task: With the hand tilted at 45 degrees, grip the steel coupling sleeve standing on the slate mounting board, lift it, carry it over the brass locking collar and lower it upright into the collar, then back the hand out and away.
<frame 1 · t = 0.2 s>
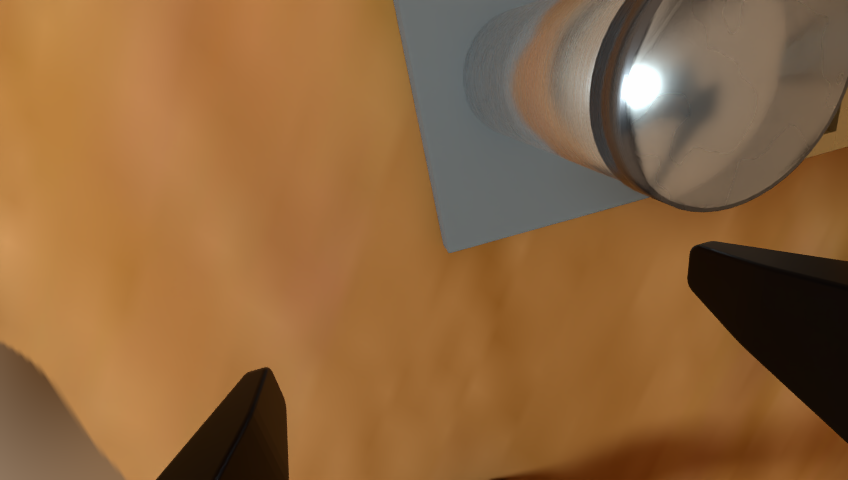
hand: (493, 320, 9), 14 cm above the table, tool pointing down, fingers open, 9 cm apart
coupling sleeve: (520, 74, 20), point 1 cm above the table, touching mounting board
locking collar: (706, 67, 23), resting on mounting board
mounting board: (612, 70, 22), on the table
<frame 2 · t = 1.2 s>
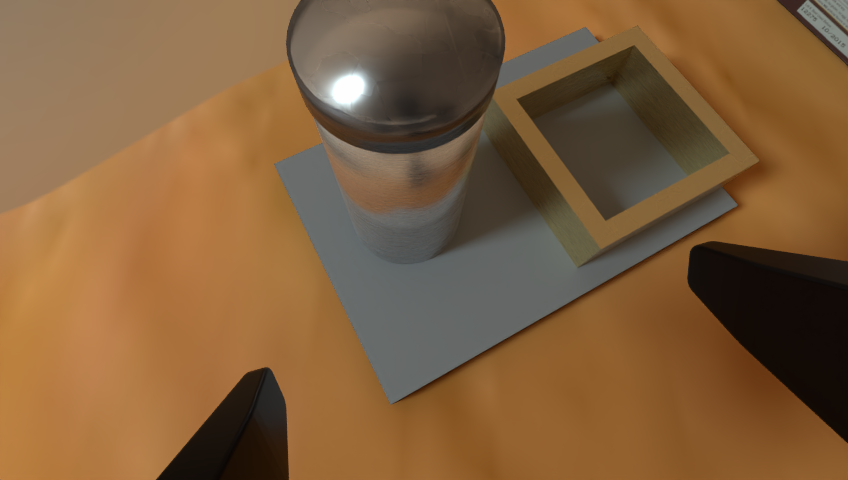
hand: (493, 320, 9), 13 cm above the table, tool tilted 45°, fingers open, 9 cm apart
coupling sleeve: (406, 213, 23), point 1 cm above the table, touching mounting board
locking collar: (589, 167, 25), resting on mounting board
mounting board: (500, 194, 25), on the table
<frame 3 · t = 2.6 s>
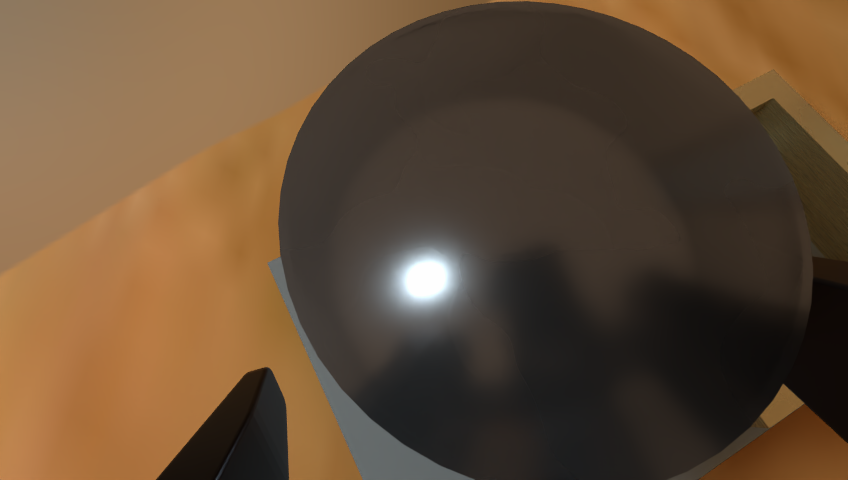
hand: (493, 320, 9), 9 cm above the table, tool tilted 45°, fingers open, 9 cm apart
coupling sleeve: (454, 337, 16), point 1 cm above the table, touching mounting board
locking collar: (696, 259, 19), resting on mounting board
mounting board: (578, 298, 18), on the table
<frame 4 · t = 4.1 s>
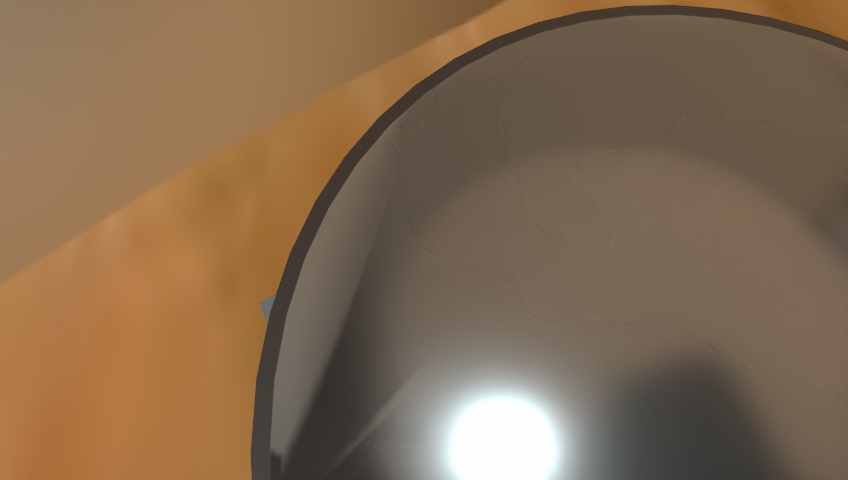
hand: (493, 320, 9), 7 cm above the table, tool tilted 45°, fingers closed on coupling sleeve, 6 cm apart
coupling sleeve: (477, 392, 14), point 1 cm above the table, touching gripper, mounting board
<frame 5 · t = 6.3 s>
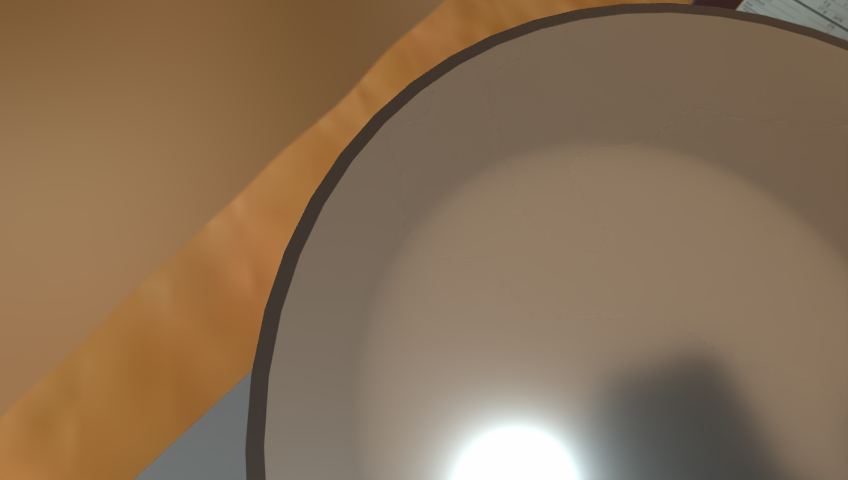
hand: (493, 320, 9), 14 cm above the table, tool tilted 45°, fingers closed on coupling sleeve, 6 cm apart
protein box: (754, 73, 28), on the table
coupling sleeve: (476, 392, 14), point 8 cm above the table, touching gripper
mounting board: (386, 452, 20), on the table
when the fingers open (8 cm above the table, at t = 8.5 s): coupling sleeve drops 1 cm, resting on mounting board.
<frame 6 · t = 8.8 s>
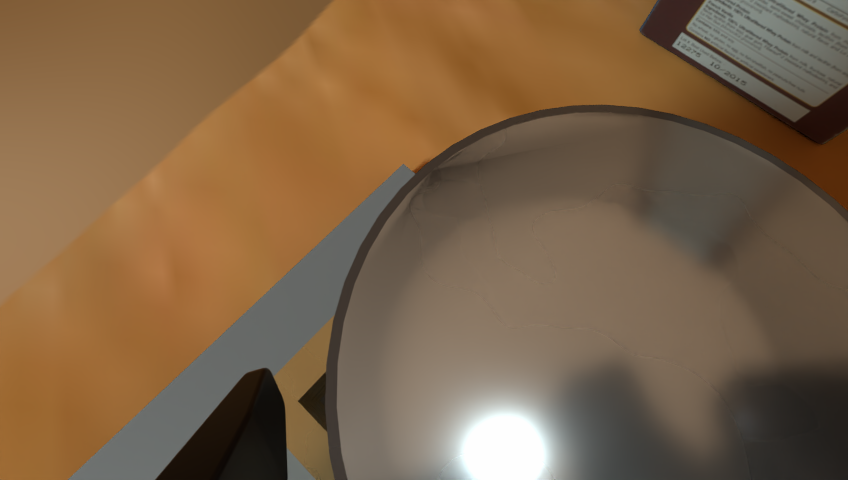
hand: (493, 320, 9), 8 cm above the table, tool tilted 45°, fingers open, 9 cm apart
protein box: (786, 5, 24), on the table
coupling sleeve: (472, 394, 15), point 1 cm above the table, touching mounting board
locking collar: (467, 392, 16), resting on mounting board
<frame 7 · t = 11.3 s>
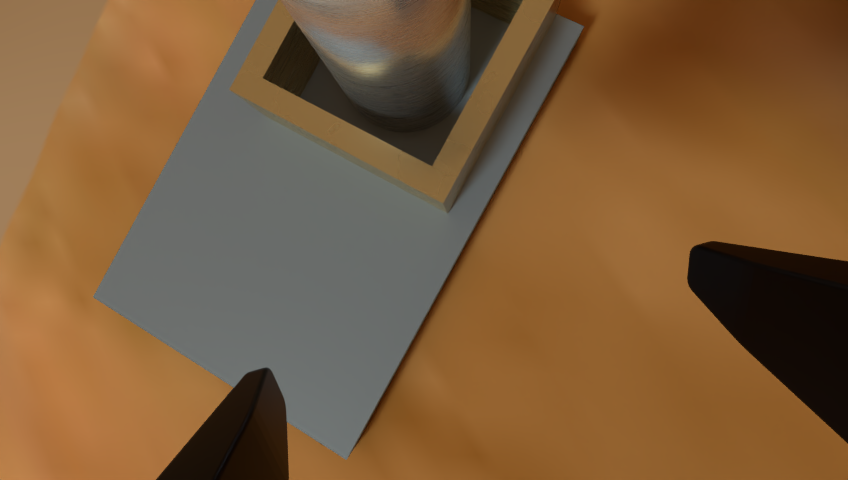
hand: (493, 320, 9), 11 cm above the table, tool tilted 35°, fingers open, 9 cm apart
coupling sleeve: (406, 70, 19), point 1 cm above the table, touching mounting board
locking collar: (409, 81, 20), resting on mounting board
mounting board: (335, 173, 20), on the table
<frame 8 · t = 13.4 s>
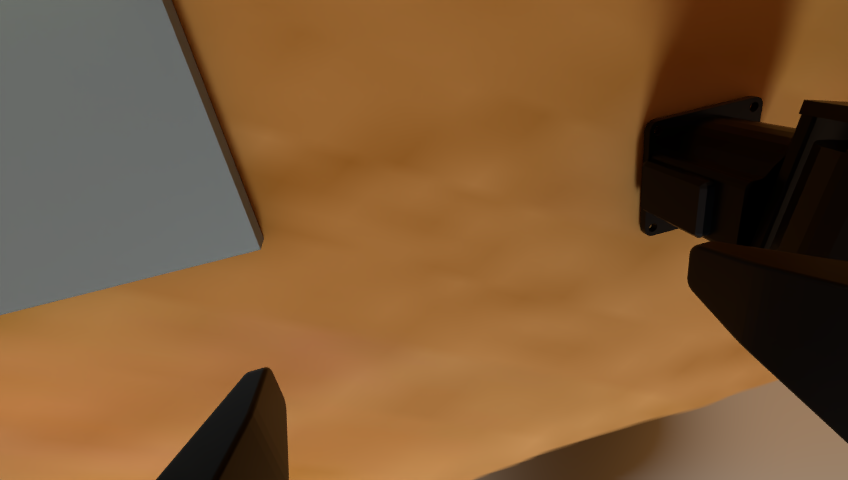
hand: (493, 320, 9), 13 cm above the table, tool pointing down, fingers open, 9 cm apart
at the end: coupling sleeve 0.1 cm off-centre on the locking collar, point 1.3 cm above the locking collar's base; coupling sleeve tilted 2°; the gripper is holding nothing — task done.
